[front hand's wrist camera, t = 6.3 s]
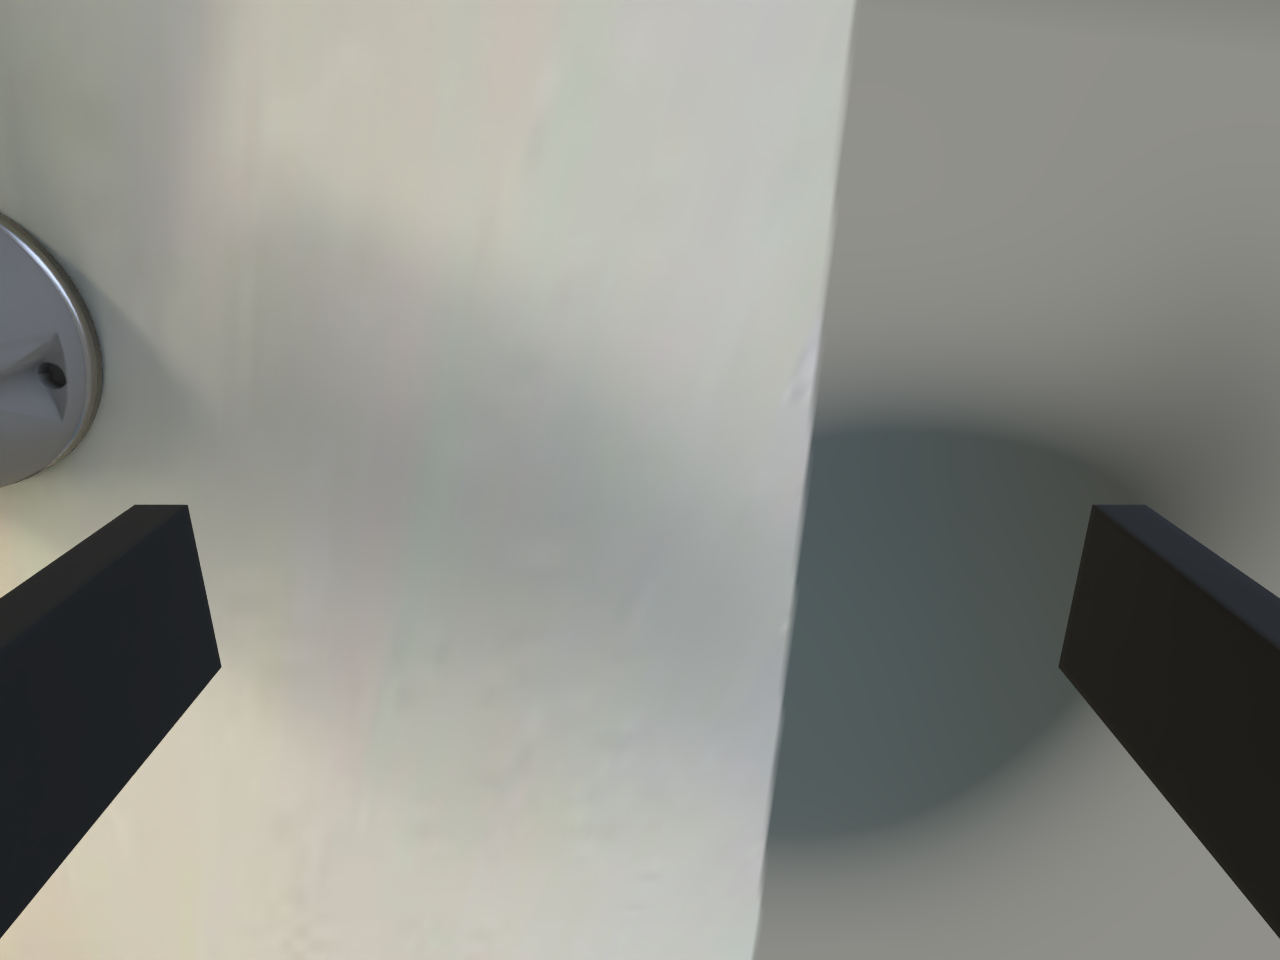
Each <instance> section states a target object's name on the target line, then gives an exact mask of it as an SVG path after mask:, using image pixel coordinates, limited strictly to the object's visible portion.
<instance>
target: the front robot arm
mask: <svg viewBox="0 0 1280 960" xmlns="http://www.w3.org/2000/svg"><path fill="white" fill-rule="evenodd" d="M101 389H102V358H101V351H100V346H99V341H98V337H97V334H96V330H95V327H94V324H93V321H92V319H91V316H90V314H89V311H88V309H87V307H86V305H85V303H84V301H83V299H82V297H81V295H80V294H79V292H78V290H77V289H76V287H75V285H74V284H73V282H72V281H71V279H70V278H69V276H68V275H67V274H66V272H65V271H64V269H63V268H62V267H61V266H60V265H59V263H58V262H57V261H56V260H55V259H54V257H53V256H52V255H51V254H50V253H49V252H48V251H47V250H46V249H45V248H44V247H43V246H42V245H41V244H40V243H39V242H38V241H37V240H36V239H35V238H33V237H32V236H31V235H30V234H29V233H28V232H26V231H25V230H24V229H23V228H21V227H20V226H19V225H17V224H16V223H14V222H13V221H12V220H10V219H9V218H7V217H5V216H4V215H2V214H1V213H0V487H3V486H6V485H9V484H13V483H16V482H19V481H22V480H24V479H27V478H29V477H31V476H33V475H35V474H37V473H39V472H40V471H42V470H44V469H46V468H48V467H50V466H52V465H54V464H55V463H57V462H58V461H60V460H61V459H63V458H64V457H65V456H66V455H67V454H69V453H70V452H71V451H72V450H73V449H74V448H75V447H76V446H77V445H78V443H79V442H80V441H81V440H82V439H83V437H84V436H85V434H86V433H87V431H88V429H89V427H90V426H91V424H92V422H93V420H94V417H95V414H96V411H97V409H98V405H99V401H100V397H101ZM220 668H221V662H220V658H219V653H218V648H217V643H216V639H215V634H214V629H213V624H212V619H211V615H210V610H209V605H208V600H207V595H206V591H205V586H204V581H203V576H202V572H201V567H200V562H199V557H198V552H197V548H196V543H195V538H194V533H193V528H192V524H191V519H190V514H189V509H188V505H134V506H132V507H131V508H129V509H128V510H127V511H125V512H124V513H122V514H121V515H119V516H118V517H117V518H115V519H114V520H112V521H111V522H109V523H108V524H107V525H105V526H104V527H102V528H101V529H99V530H98V531H96V532H95V533H94V534H92V535H91V536H89V537H88V538H86V539H85V540H84V541H82V542H81V543H79V544H78V545H76V546H75V547H73V548H72V549H71V550H69V551H68V552H66V553H65V554H63V555H62V556H61V557H59V558H58V559H56V560H55V561H53V562H52V563H50V564H49V565H48V566H46V567H45V568H43V569H42V570H40V571H39V572H38V573H36V574H35V575H33V576H32V577H30V578H29V579H27V580H26V581H25V582H23V583H22V584H20V585H19V586H17V587H16V588H15V589H13V590H12V591H10V592H9V593H7V594H6V595H5V596H3V597H2V598H0V938H1V937H2V936H3V935H4V933H5V932H6V931H7V930H8V928H9V927H10V926H11V925H12V924H13V922H14V921H15V920H16V919H17V917H18V916H19V915H20V914H21V912H22V911H23V910H24V909H25V908H26V906H27V905H28V904H29V903H30V901H31V900H32V899H33V898H34V897H35V895H36V894H37V893H38V892H39V890H40V889H41V888H42V887H43V885H44V884H45V883H46V882H47V881H48V879H49V878H50V877H51V876H52V874H53V873H54V872H55V871H56V869H57V868H58V867H59V866H60V865H61V863H62V862H63V861H64V860H65V858H66V857H67V856H68V855H69V854H70V852H71V851H72V850H73V849H74V847H75V846H76V845H77V844H78V842H79V841H80V840H81V839H82V838H83V836H84V835H85V834H86V833H87V831H88V830H89V829H90V828H91V827H92V825H93V824H94V823H95V822H96V820H97V819H98V818H99V817H100V815H101V814H102V813H103V812H104V811H105V809H106V808H107V807H108V806H109V804H110V803H111V802H112V801H113V800H114V798H115V797H116V796H117V795H118V793H119V792H120V791H121V790H122V788H123V787H124V786H125V785H126V784H127V782H128V781H129V780H130V779H131V777H132V776H133V775H134V774H135V773H136V771H137V770H138V769H139V768H140V766H141V765H142V764H143V763H144V761H145V760H146V759H147V758H148V757H149V755H150V754H151V753H152V752H153V750H154V749H155V748H156V747H157V745H158V744H159V743H160V742H161V741H162V739H163V738H164V737H165V736H166V734H167V733H168V732H169V731H170V730H171V728H172V727H173V726H174V725H175V723H176V722H177V721H178V720H179V718H180V717H181V716H182V715H183V714H184V712H185V711H186V710H187V709H188V707H189V706H190V705H191V704H192V703H193V701H194V700H195V699H196V698H197V696H198V695H199V694H200V693H201V691H202V690H203V689H204V688H205V687H206V685H207V684H208V683H209V682H210V680H211V679H212V678H213V677H214V676H215V674H216V673H217V672H218V671H219V669H220ZM1059 668H1060V669H1061V671H1062V672H1063V673H1064V674H1065V676H1066V677H1067V678H1068V679H1069V680H1070V682H1071V683H1072V684H1073V685H1074V687H1075V688H1076V689H1077V690H1078V691H1079V693H1080V694H1081V695H1082V696H1083V698H1084V699H1085V700H1086V701H1087V703H1088V704H1089V705H1090V706H1091V707H1092V709H1093V710H1094V711H1095V712H1096V714H1097V715H1098V716H1099V717H1100V718H1101V720H1102V721H1103V722H1104V723H1105V725H1106V726H1107V727H1108V728H1109V730H1110V731H1111V732H1112V733H1113V734H1114V736H1115V737H1116V738H1117V739H1118V741H1119V742H1120V743H1121V744H1122V745H1123V747H1124V748H1125V749H1126V750H1127V752H1128V753H1129V754H1130V755H1131V757H1132V758H1133V759H1134V760H1135V761H1136V763H1137V764H1138V765H1139V766H1140V768H1141V769H1142V770H1143V771H1144V772H1145V774H1146V775H1147V776H1148V777H1149V779H1150V780H1151V781H1152V782H1153V784H1154V785H1155V786H1156V787H1157V788H1158V790H1159V791H1160V792H1161V793H1162V795H1163V796H1164V797H1165V798H1166V800H1167V801H1168V802H1169V803H1170V804H1171V806H1172V807H1173V808H1174V809H1175V811H1176V812H1177V813H1178V814H1179V815H1180V817H1181V818H1182V819H1183V820H1184V822H1185V823H1186V824H1187V825H1188V827H1189V828H1190V829H1191V830H1192V831H1193V833H1194V834H1195V835H1196V836H1197V837H1198V839H1199V840H1200V841H1201V842H1202V844H1203V845H1204V846H1205V847H1206V849H1207V850H1208V851H1209V852H1210V853H1211V855H1212V856H1213V857H1214V858H1215V860H1216V861H1217V862H1218V863H1219V865H1220V866H1221V867H1222V868H1223V869H1224V871H1225V872H1226V873H1227V874H1228V876H1229V877H1230V878H1231V879H1232V881H1233V882H1234V883H1235V884H1236V885H1237V887H1238V888H1239V889H1240V890H1241V892H1242V893H1243V894H1244V895H1245V897H1246V898H1247V899H1248V900H1249V901H1250V903H1251V904H1252V905H1253V906H1254V908H1255V909H1256V910H1257V911H1258V912H1259V914H1260V915H1261V916H1262V917H1263V919H1264V920H1265V921H1266V922H1267V924H1268V925H1269V926H1270V927H1271V928H1272V930H1273V931H1274V932H1275V933H1276V935H1277V936H1278V937H1279V938H1280V598H1278V597H1277V596H1275V595H1274V594H1273V593H1271V592H1270V591H1268V590H1267V589H1265V588H1264V587H1263V586H1261V585H1260V584H1258V583H1257V582H1255V581H1254V580H1253V579H1251V578H1250V577H1248V576H1247V575H1245V574H1244V573H1242V572H1241V571H1240V570H1238V569H1237V568H1235V567H1234V566H1232V565H1231V564H1229V563H1228V562H1227V561H1225V560H1224V559H1222V558H1221V557H1219V556H1218V555H1217V554H1215V553H1214V552H1212V551H1211V550H1209V549H1208V548H1207V547H1205V546H1204V545H1202V544H1201V543H1199V542H1198V541H1196V540H1195V539H1194V538H1192V537H1191V536H1189V535H1188V534H1186V533H1185V532H1184V531H1182V530H1181V529H1179V528H1178V527H1176V526H1175V525H1173V524H1172V523H1171V522H1169V521H1168V520H1166V519H1165V518H1163V517H1162V516H1161V515H1159V514H1158V513H1156V512H1155V511H1153V510H1152V509H1151V508H1149V507H1148V506H1146V505H1092V509H1091V514H1090V519H1089V524H1088V529H1087V533H1086V538H1085V543H1084V548H1083V552H1082V557H1081V562H1080V567H1079V571H1078V576H1077V581H1076V586H1075V591H1074V596H1073V600H1072V605H1071V610H1070V615H1069V620H1068V624H1067V629H1066V634H1065V639H1064V643H1063V648H1062V653H1061V658H1060V662H1059Z"/></svg>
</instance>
